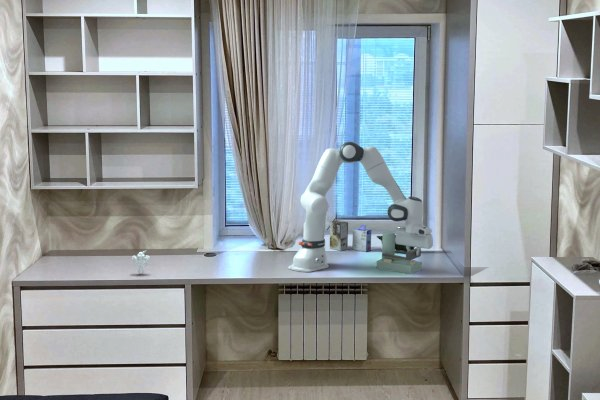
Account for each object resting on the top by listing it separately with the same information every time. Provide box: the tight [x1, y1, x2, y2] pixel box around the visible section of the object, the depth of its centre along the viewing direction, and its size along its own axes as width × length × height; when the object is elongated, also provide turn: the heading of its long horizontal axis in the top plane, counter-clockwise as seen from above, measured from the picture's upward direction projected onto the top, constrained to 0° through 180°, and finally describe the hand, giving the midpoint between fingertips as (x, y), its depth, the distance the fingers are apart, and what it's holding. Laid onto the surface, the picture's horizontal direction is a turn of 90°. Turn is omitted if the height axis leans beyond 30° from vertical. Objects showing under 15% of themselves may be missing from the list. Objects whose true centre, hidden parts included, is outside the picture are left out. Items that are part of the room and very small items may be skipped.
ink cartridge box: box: [351, 224, 372, 252], centre depth 444 cm, size 10×6×14 cm, turn 53°
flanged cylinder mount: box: [376, 231, 423, 275], centre depth 402 cm, size 12×20×18 cm, turn 54°
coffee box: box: [329, 219, 349, 252], centre depth 446 cm, size 9×6×16 cm
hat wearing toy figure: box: [131, 249, 150, 275], centre depth 390 cm, size 9×4×12 cm, turn 92°
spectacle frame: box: [381, 247, 422, 260], centre depth 402 cm, size 12×16×4 cm
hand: (413, 254), depth 398 cm, fingers closed on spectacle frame, 2 cm apart
